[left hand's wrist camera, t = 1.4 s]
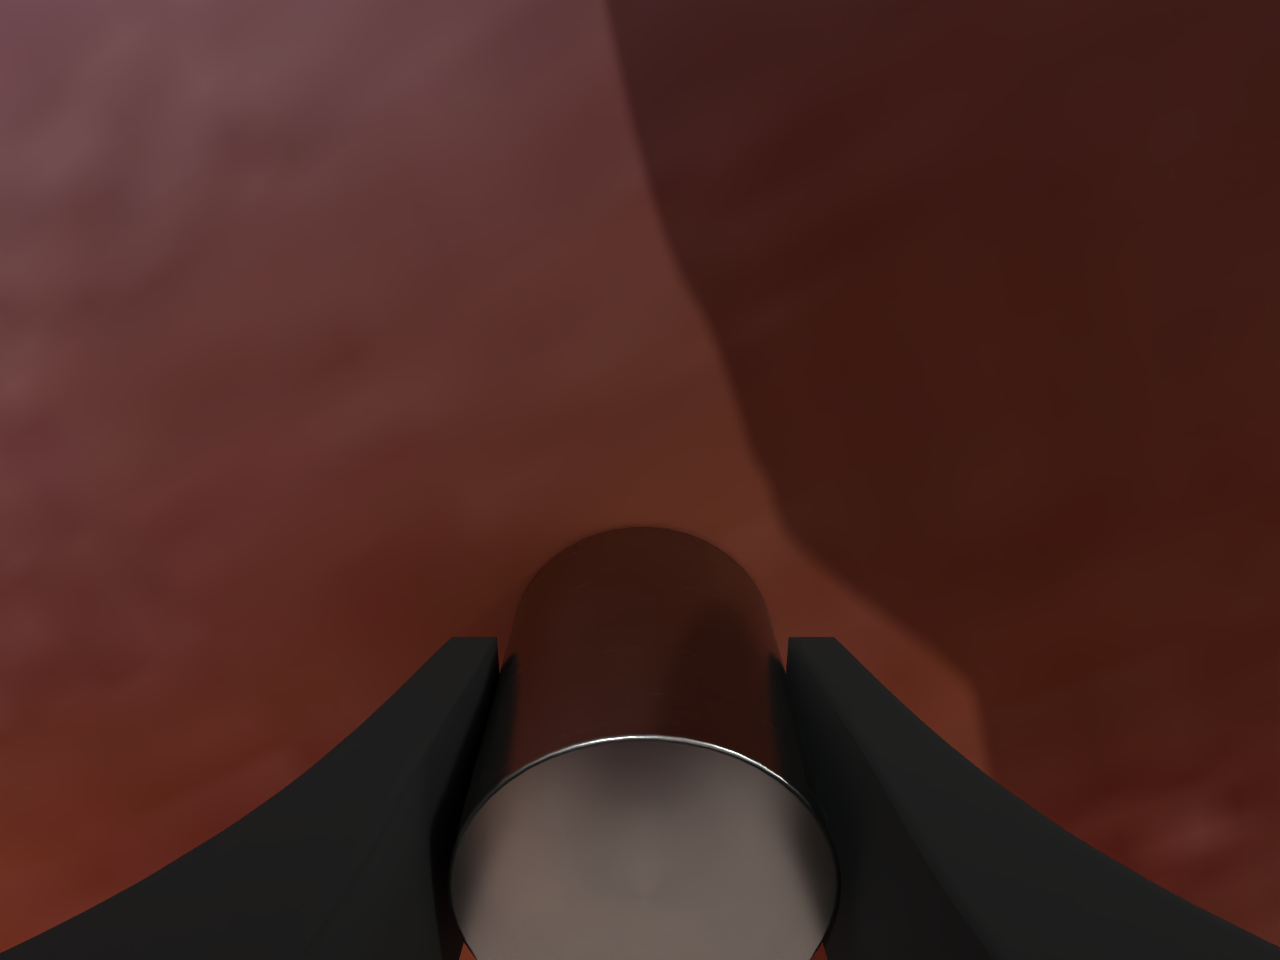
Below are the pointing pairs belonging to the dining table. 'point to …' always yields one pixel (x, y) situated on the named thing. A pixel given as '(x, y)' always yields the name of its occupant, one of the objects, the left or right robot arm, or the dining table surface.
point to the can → (643, 771)
